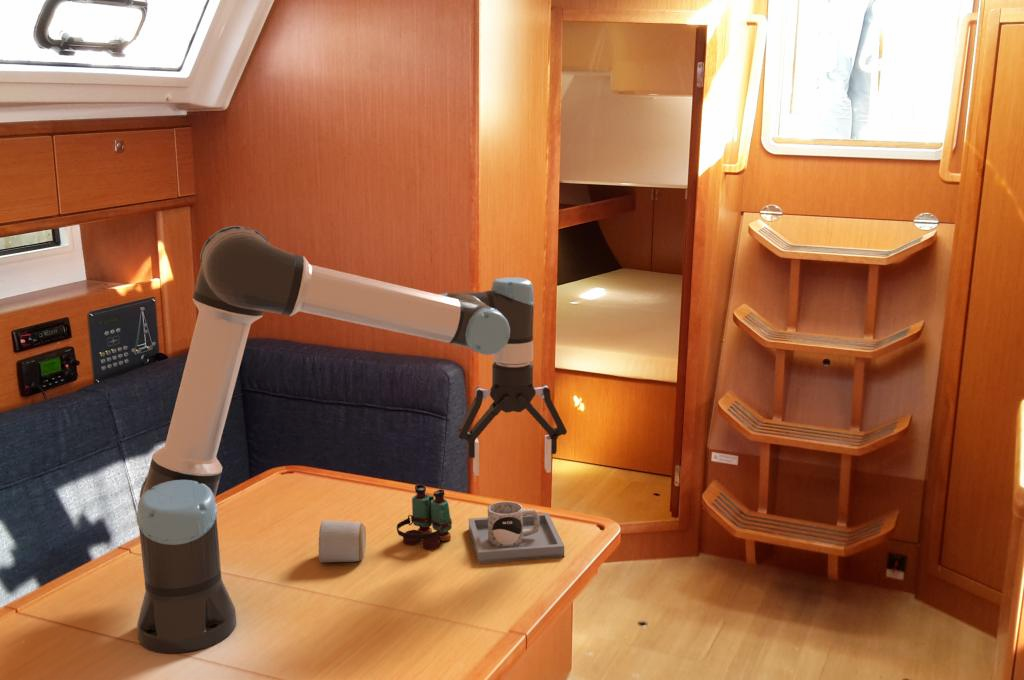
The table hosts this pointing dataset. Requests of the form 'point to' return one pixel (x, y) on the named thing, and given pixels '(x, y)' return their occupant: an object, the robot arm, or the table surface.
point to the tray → (532, 547)
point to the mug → (509, 524)
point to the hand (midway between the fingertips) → (512, 471)
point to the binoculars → (427, 519)
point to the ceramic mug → (341, 541)
